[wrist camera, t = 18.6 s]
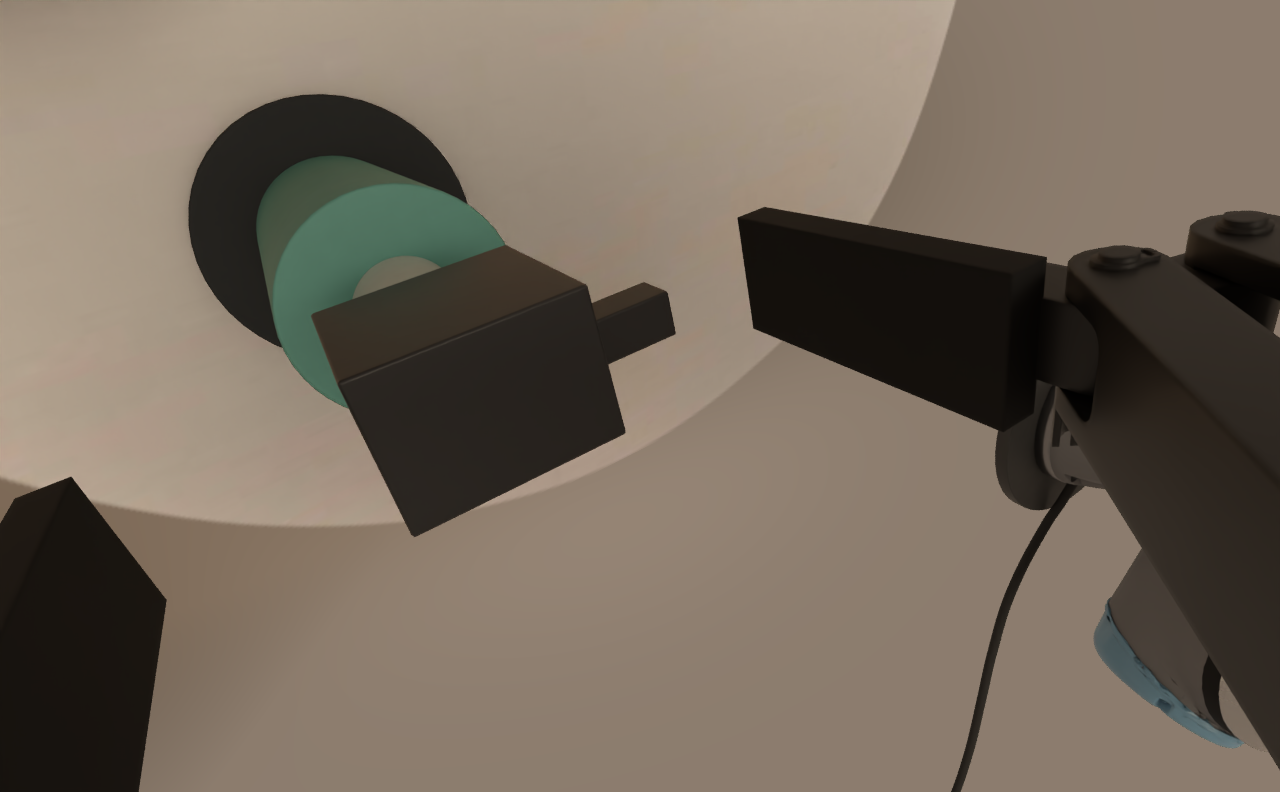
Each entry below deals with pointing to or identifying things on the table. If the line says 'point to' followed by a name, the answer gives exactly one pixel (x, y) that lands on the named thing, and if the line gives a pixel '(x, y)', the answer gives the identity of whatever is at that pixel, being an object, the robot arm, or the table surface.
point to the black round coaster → (261, 155)
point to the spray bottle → (442, 334)
